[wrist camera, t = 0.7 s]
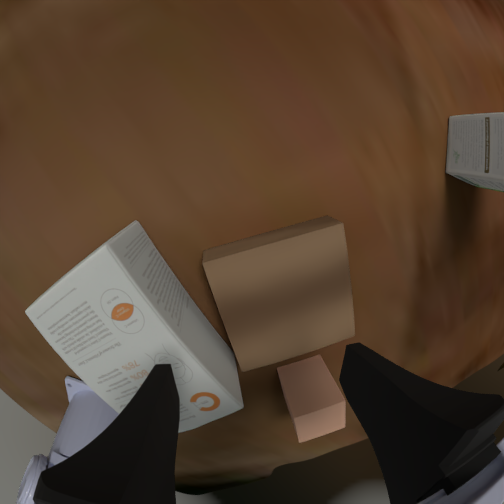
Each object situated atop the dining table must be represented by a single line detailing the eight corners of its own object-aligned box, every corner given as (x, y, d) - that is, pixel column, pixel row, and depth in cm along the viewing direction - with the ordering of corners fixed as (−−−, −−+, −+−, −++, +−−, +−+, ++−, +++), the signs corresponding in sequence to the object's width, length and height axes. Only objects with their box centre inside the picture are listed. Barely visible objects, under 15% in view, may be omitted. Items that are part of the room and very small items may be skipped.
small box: (64, 274, 18) (160, 388, 22) (21, 311, 12) (152, 443, 16) (140, 217, 18) (236, 354, 22) (107, 240, 12) (246, 410, 16)
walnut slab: (340, 316, 23) (355, 335, 20) (238, 348, 22) (242, 372, 19) (325, 214, 20) (343, 222, 17) (203, 248, 19) (202, 263, 16)
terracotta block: (322, 382, 24) (345, 427, 19) (283, 395, 24) (299, 442, 18) (319, 354, 23) (345, 400, 17) (276, 367, 23) (293, 418, 17)
